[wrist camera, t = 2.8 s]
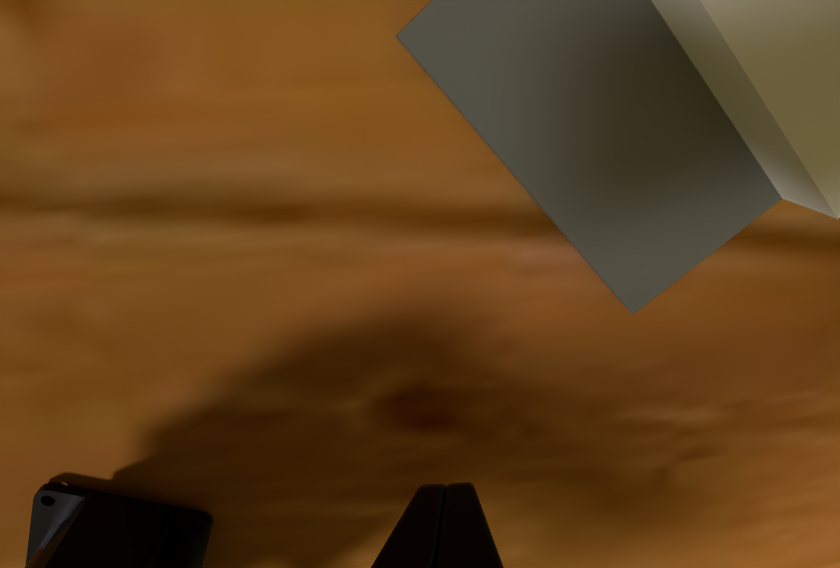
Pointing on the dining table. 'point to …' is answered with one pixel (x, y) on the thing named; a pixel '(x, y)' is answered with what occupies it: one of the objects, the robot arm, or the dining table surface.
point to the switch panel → (646, 117)
